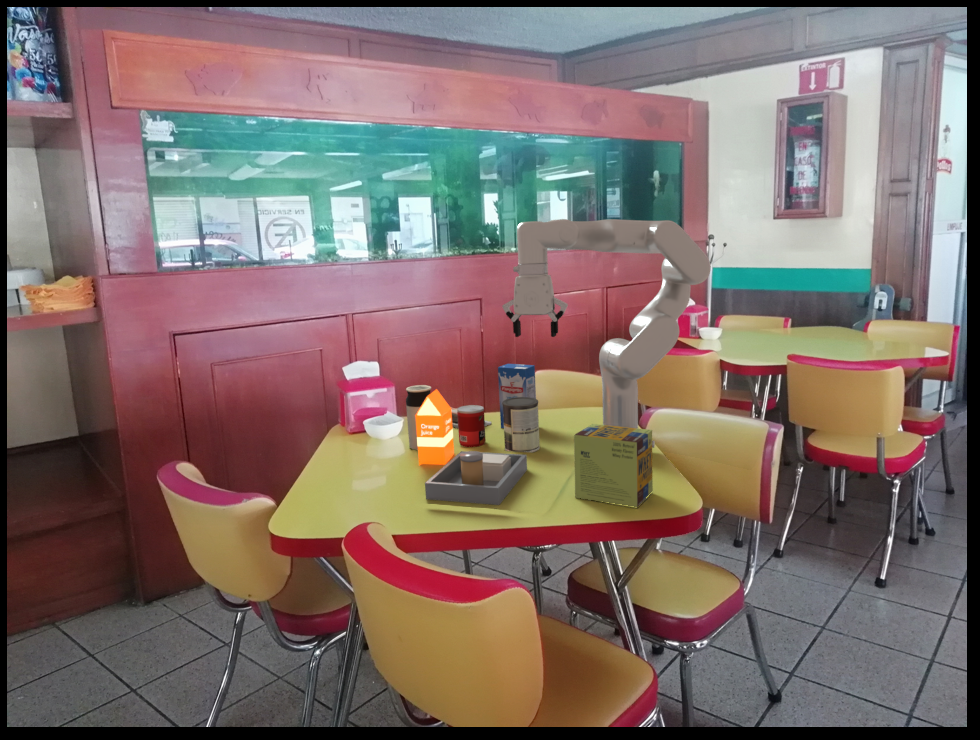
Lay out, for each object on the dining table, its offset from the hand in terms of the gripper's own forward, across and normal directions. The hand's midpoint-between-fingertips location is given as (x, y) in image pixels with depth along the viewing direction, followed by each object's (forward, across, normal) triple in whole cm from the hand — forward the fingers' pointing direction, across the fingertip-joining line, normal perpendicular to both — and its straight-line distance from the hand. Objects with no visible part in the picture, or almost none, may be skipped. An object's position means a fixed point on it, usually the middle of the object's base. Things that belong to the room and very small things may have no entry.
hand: (535, 336), depth 181 cm
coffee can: (+34, -8, +10) cm, 37 cm away
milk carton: (+34, -15, +31) cm, 49 cm away
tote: (+34, -10, -22) cm, 42 cm away
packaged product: (+35, -35, +33) cm, 59 cm away
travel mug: (+34, -38, +7) cm, 52 cm away
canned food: (+34, -24, +12) cm, 44 cm away
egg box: (+33, -10, -16) cm, 38 cm away
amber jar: (+33, -10, -27) cm, 44 cm away
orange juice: (+34, -28, -6) cm, 45 cm away
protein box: (+35, +23, -21) cm, 47 cm away
